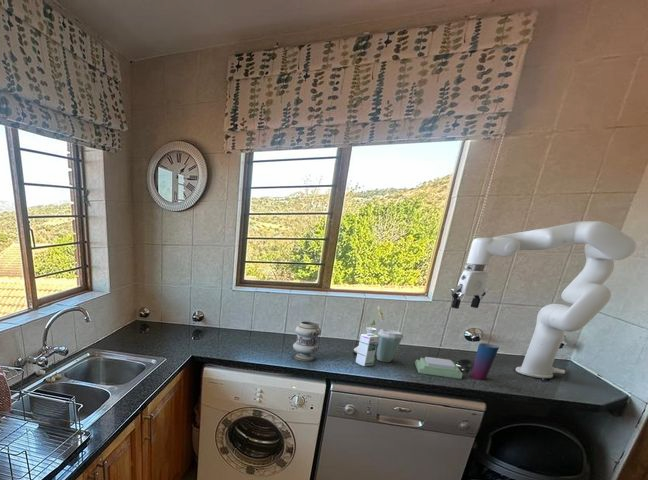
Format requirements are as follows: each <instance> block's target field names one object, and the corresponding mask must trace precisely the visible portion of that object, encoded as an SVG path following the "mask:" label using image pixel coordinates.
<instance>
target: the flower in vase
mask: <svg viewBox="0 0 648 480" xmlns="http://www.w3.org/2000/svg"><path fill="white" fill-rule="evenodd" d="M377 312H378V313H377V314H376V315H375V316H374V318H373V319H372V322H371V323H370V324H369V326H366V327H365V330H366V334H370V333H371V334H375V332H376V331H377V330H378V329H377V328H376V327H373V326H375V325H376V320H375V319H376V318H377V317H378V316H380V319H381V320H382V321H385V317H384V315H383V314H384V313H383V312H382V309H381V306H380V305H377ZM358 347H359V345H357V346H356V347H354V348H353V352H354V353H355V354H357V353H358ZM376 356H377V352H376Z"/></svg>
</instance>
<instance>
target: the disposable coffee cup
mask: <svg viewBox="0 0 648 480" xmlns="http://www.w3.org/2000/svg"><path fill="white" fill-rule="evenodd" d="M377 335H378V336H380V338H379V343H378V348H377V355H376V360H377V361H379V362H383V363H384V362H385V363H390V362H392V361H393V359H394V357H395V354H396V352H397V350H398V348H399V346H400V343H401V341H402V339H403V338H404V334H403V333H402V332H400V331H398V330H394V329H388V328H381V329H379V331H378V332H377Z"/></svg>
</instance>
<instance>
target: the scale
mask: <svg viewBox="0 0 648 480" xmlns="http://www.w3.org/2000/svg"><path fill="white" fill-rule="evenodd" d="M452 363H453V364H454V366H455V369H450V368H442V367H435V366H427V364H426V362H425V357H420V359H415V362H414V365H415V367H416V370H417V372H418V374H424V375H431V376H438V377H445V378H453V379H460V380H461V379H463V376H464V375H463V373H462V371H461V370H460V368H459V366H458V365H457V364H455V362H454V361H452Z"/></svg>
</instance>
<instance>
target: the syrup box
mask: <svg viewBox="0 0 648 480" xmlns="http://www.w3.org/2000/svg"><path fill="white" fill-rule="evenodd" d="M379 338H380V336H378V334H375V333H373V334H371V333H370V334H367V333H361V334H360V336H359V342H358V346H359V347H358V353H356V358H355V364H358V365H360V366H362V367H368V366H370V367H371V366H374V365H375V361H376V358H377V355H376V352H377V348H378V343H379Z"/></svg>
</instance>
